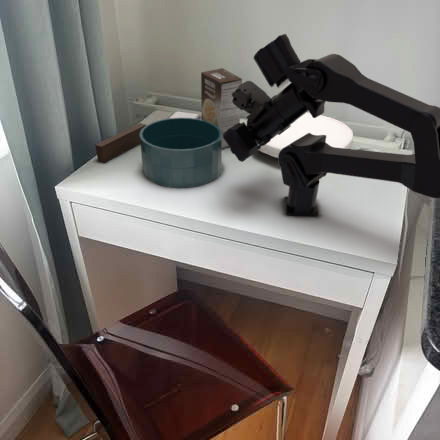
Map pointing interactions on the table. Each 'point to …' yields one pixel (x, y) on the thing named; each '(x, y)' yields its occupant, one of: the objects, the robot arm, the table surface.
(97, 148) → the back rail
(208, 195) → the table surface
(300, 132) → the plate
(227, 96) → the coffee box
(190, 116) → the smartphone
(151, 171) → the bowl
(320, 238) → the table surface
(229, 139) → the robot arm
